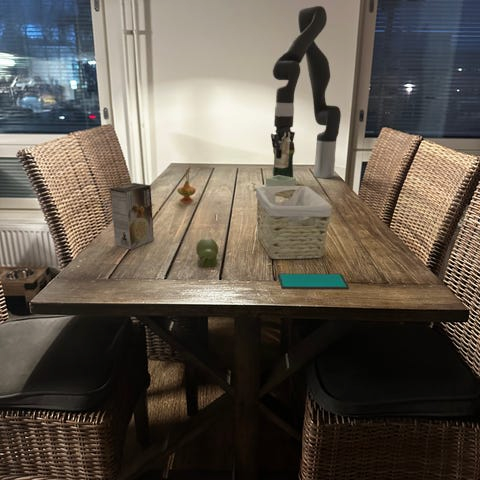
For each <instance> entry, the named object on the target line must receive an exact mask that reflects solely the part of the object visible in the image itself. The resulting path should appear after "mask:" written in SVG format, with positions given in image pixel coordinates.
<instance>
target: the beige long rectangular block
mask: <svg viewBox="0 0 480 480" xmlns="http://www.w3.org/2000/svg"><path fill="white" fill-rule="evenodd" d="M278 141H281V140H278ZM289 144H290V138H284V139H283V144H282V149H281V150H282V153H281V159H278V158H276V150H275V167H278V168H286V167H288V161H289ZM279 146H280V143H279Z"/></svg>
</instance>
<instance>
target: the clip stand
mask: <svg viewBox="0 0 480 480" xmlns="http://www.w3.org/2000/svg"><path fill="white" fill-rule="evenodd" d="M296 183H297V178H296V177H293V178H292V177H287V176H281V175H277V176H273V177H272V176H269V177H266V178H265V184H262V185H257V186H254V187H253V191H255V192H257V188H259V187H272V186H297V185H296ZM282 197H283V198H285V197H286V196H282ZM286 198H287V197H286Z"/></svg>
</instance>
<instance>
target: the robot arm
mask: <svg viewBox="0 0 480 480" xmlns="http://www.w3.org/2000/svg"><path fill="white" fill-rule="evenodd" d="M327 20H328V18H327V11H326V9H325V7H323V6H322V5H316V6H311V7H306V8H302V9H300V10H299V11H298V13H297V25H298V30H299V34H298V35H297V36H296V37H294V39H293V40H292V41H291V42H290V44H289V46H288V48H287V50H285V53H283V54H282V55H281V56H280V57H279V58H278V59H276V61H275V63H274V65H273V67H272V76H273V77H274V79H276V80H278V81H287V83H286V84H285V85H283V86H280V87H278V88H276V95H275V96H276V97H275V106H274V121H273V123H274V125H273V127H276V128H275V131H274V133H271V134H270V138H271V144H272V148H275V149H276V158H278V159H281V153H282V150H281V149H282V144H283V139H284V138H290V144H289V147H290V146H292V143H293V142H294V139H295V133H296V132H295V131H292V129H291V128H293V126H294V115H295V114H294V113H295V112H294V111H295V107H294V106H295V105H294V104H295V102H294V101H295V92H296V87H297V84H298V81H299V78H300V75H301V65H300V64H301V63H302V61H303V58H306V65H307V72H308V76H309V77H308V78H309V81H310V82H309V83H310V86H311V93H312V99H313V100H312V101H313V113H314V119H315V122H316V123H317V125H319V126H323V127H324V126H325V129H324V130H323V132H320V133H318V134H317V135H316V143H315V144H316V147H315V159H314V160H315V161H314V170H313V171H314V172H313V176H314V177H316V178H320V179H331V178H333V177H334V173H335V166H336V163H335V162H336V148H337V138H338V136H339V131H340V125H341V119H342V113H341V109H340V107H339V106H336V105H329V104H327V101H326V91H327V88H328V85H329V83H330V79H331V70H330V63H329V60H328V58H327V56H326V55H325V53H324V52H323V51H322V50H321V49H320V48H319V46H318V45H317V43H316V42H315V40H316V39H317V37H318V36H319V35H320V33H322V32H323V30H324V29H325V27H326V25H327ZM278 140H281V141H278ZM275 143H276V145H275ZM279 143H280V146H279Z"/></svg>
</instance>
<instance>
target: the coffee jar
mask: <svg viewBox="0 0 480 480" xmlns="http://www.w3.org/2000/svg"><path fill="white" fill-rule="evenodd" d="M275 145H276V143H275ZM272 148H273V147H272ZM275 150H276V149H275V148H273V149H272V151H273V152H272V153H273V154H274V155H273V156H274V157H273V158H274V159H273V166H272V167H273V168H272V176H271V177H273V176H277V175H281V176H287V177H292V178H294V168H293V167H294V164H293V163H294V160H293V159H294V153H295V151H296V150H295V143H294V141H293V143H292V146H290V147H289V161H288V167H286V168H278V167H275Z"/></svg>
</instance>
